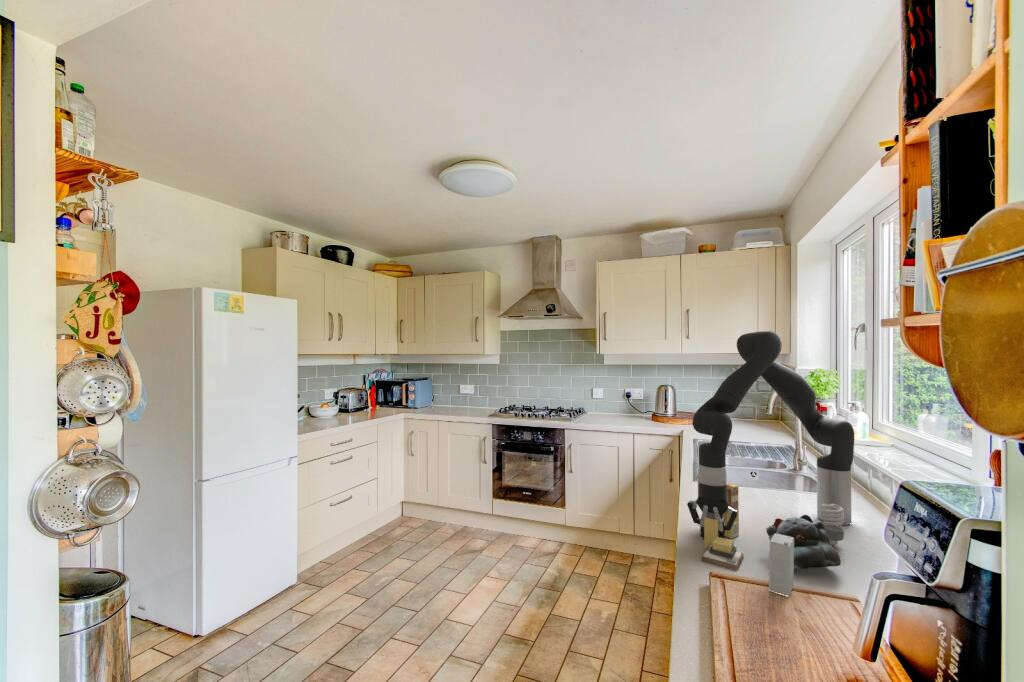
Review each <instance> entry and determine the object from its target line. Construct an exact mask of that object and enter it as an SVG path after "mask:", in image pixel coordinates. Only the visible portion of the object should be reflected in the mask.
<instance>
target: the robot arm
mask: <svg viewBox="0 0 1024 682" xmlns="http://www.w3.org/2000/svg"><path fill="white" fill-rule="evenodd" d="M782 343H783V342H782V339H781V337H780V336H779V334H777V332H775V331H773V330H772V331H771V330H762V331H756V332H755V331H754V332H747V333H744V334H741V335H740V336H739V337H738V338H737V340H736V348H737V353H738V354H739V356H740V357H741V358H742V360H744V361H745V363H743V364H742V365H741V366H740V367H738V368H737V369H736V370H734V371H733V372H732V373H730V375H728V376H727V377H726V378H724V380H723V381H722V382H721V384H720V385H719V387H718V389H717V390H716V392H715V393H714V395H713V396H712V397H711V398H710V399H708V400H707V401H705V402H704V403H703V404H702V405H701V406H699V408H698V409H697V410H696V412H695V413H694V414H693V417H692V427H693V429H694V430H695V431H696V433H699V434H701V435H707V436H712V437H711V440H710V442H704V443H701V444H699V447H698V468H697V469H698V470H697V499H696V500H691V499H690V500H689V501H688V502H687V505H686V506H687V508H688V510H689V514H690V516H691V518H692V521H693V523H694V524H697V525H699V527H700V528H699V529H700V537H701V538H702V540H703V541H704V518H706V516H707V512H710V513H715V518H716V520H717V521H718V528H719V531H718V537H720V538H725V537H726V536H725V531H726V530H728V531H729V530H730V529H731V528H732V526H733V523H734V521H735V519H736V517H737V515H738V512H740V511H738V510H737V509H735V510H734V509H732V508H731V507H729V505H728V503H727V483H728V479H727V478H728V476H727V469H726V467H727V465H726V463H727V462H726V453H727V448H728V444H729V440H730V437H731V436H732V433H733V432H732V431H733V423H732V422H733V421H732V419H731V417H730V415H728V414H733V413H734V412H736V410H737V409H738V407H739V406H740V405H741V403H742V401H743V399H744V398H745V396H746V395H747V393H748V392H749V390H750V389H751V387H752V386H753V385H754V383H755V382H757V380H758V379H759V378H760V377H761V378H763V379H764V381H766V383H767V384H768V385H769V386H770V388H772V389H773V390H774V391H775V393H776V394H777V396H778V397H779V398H780V400H782V402H783V403H784V404H785V405H786V406H787V407H788V408H789V409H790V410H791V411H792V412H793V414H794V415H795V416H796V417H797V418H798V420H799V421H800V423H801V424H802V426H803V427H804V429H805V430H806V432H807V434H809V436H810V438H811V439H812V440H813V441H814V442H815V443H817V444H819V445H823V446H826V447H830V454H827V455H820V456H818V457H816V516H817V519H819V521H820V520H821V522H823V521H826V522H833V523H834V522H836V521H827V520H823V519H821V516H823V515H821V514H820V512H823V511H821V508H823V507H821V505H822V504H827V505H830V504H836V505H838V506H840V507H842V508H843V512H844V519H843V520H844V523H843V524H842V526H848V524H849V525H851V524H852V465H853V461H854V453H855V449H854V448H855V431H854V427H853V425H852V424H851V423H850V422H849V421H846V420H843V419H836V418H829V417H826V416H824V415H823V414H822V413H820V411H819V410H818V409H817V408H816V401H817V400H816V398H817V397H816V392H815V390H814V389H813V387H812V385H810V383H809V382H808V381H807V379H805V377H804V376H803V375H802V374H800V373H798V372H797V371H795V370H793V369H792V368H789V367H787V366H785V365H784V364H781V363H780V362H778V361H776V359H778V357H779V355H780V354H781V352H782V349H783V345H782ZM697 508H699V509H700V511H701V512H702V513H701V516H700V515H699V512H698V510H697ZM828 509H832V510H836V509H833V508H828ZM726 511H728V512H729V516H730V519H729V521H728V523H727V524H724V518H723V514H724V513H725V512H726ZM840 513H841V512H840ZM833 514H836V513H833ZM833 518H836V517H833ZM850 523H851V524H850ZM725 539H726V538H725Z"/></svg>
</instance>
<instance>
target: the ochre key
mask: <svg viewBox="0 0 1024 682" xmlns="http://www.w3.org/2000/svg"><path fill="white" fill-rule="evenodd" d="M734 542H735V541H734V540H733V539H730V538H729V539H727V538H720V537H716V538H715V539H714V541H713V549H714V550H718V551H722V552H726V553H729V554H731V552H732V550H733V548H734V547H735V543H734Z"/></svg>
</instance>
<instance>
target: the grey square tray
mask: <svg viewBox="0 0 1024 682" xmlns="http://www.w3.org/2000/svg"><path fill="white" fill-rule="evenodd" d="M744 555H745V554H744V553H743V552H740V551H738V550H737V546H734V548H733V550H732V552H731V554H729V553H726V552H722V551H718V550H714V549H713V545H709V546H708V547H707V548H705V550H704V552H703V553H702V555H701V557H700V559H701V562H703V563H709V564H712V565H716V566H719V567H723V568H727V569H731V570H733V571H734V570H735V571H739V570H740V569H739V568H740V566H741V564H742V562H743V560H744V558H745V557H744Z"/></svg>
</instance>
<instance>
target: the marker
mask: <svg viewBox="0 0 1024 682" xmlns="http://www.w3.org/2000/svg"><path fill="white" fill-rule="evenodd" d="M718 531H719V528H718V521H717V520H716V518H715V513H710V512H707V516H706V518H704V540H703V543H704V544H703V545H704V546H703V548H705V549H707V547H708V546H709V545H713V541H714V539H715V538H716V537H718Z"/></svg>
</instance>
